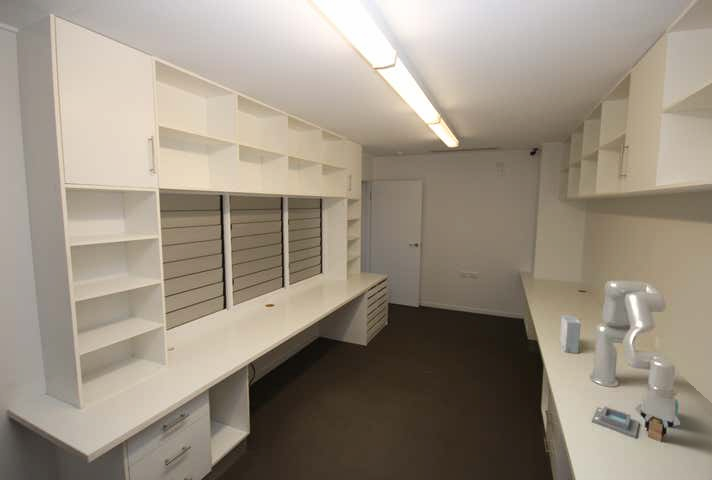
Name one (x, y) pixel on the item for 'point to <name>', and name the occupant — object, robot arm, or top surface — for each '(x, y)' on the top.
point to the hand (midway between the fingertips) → (655, 431)
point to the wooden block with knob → (655, 428)
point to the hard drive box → (570, 334)
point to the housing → (616, 421)
